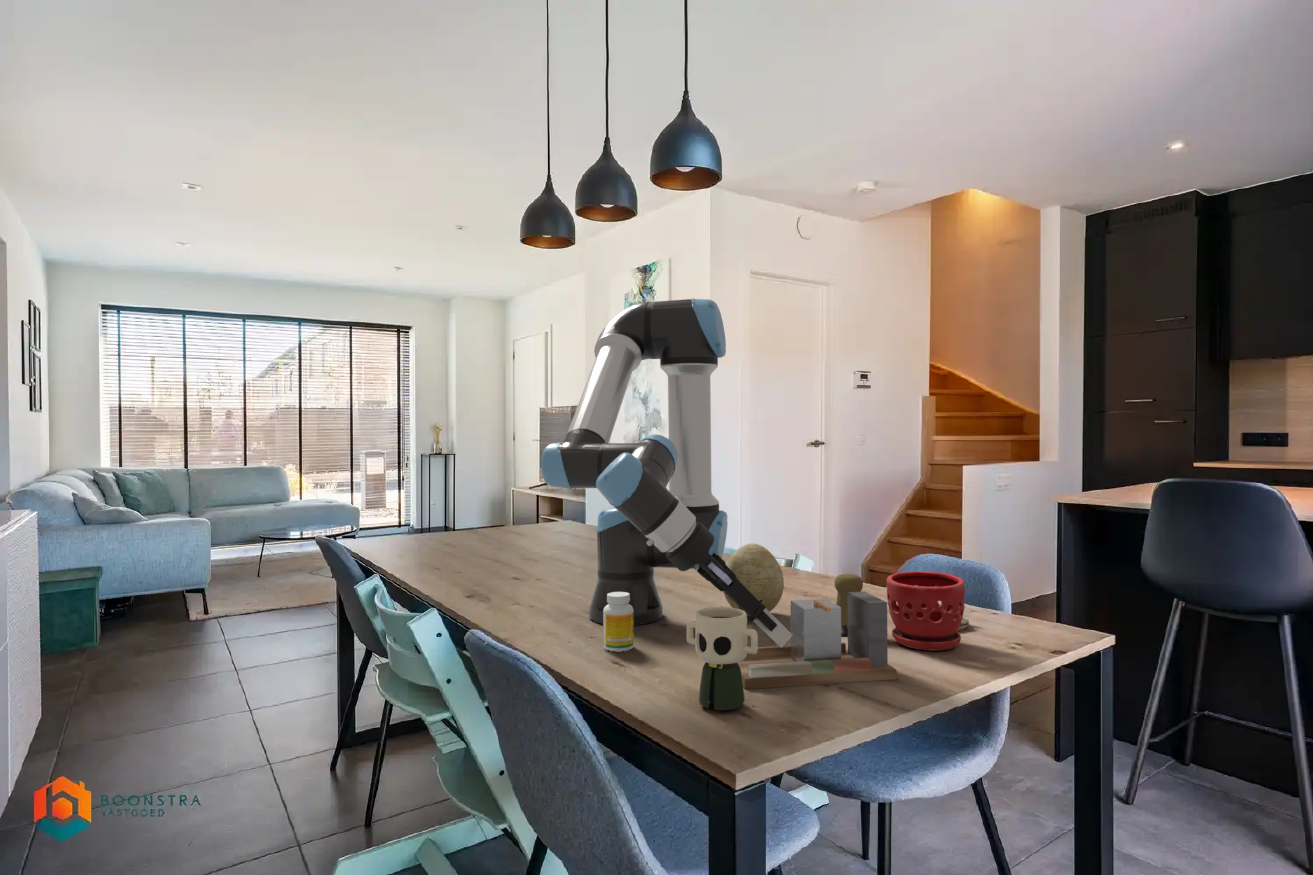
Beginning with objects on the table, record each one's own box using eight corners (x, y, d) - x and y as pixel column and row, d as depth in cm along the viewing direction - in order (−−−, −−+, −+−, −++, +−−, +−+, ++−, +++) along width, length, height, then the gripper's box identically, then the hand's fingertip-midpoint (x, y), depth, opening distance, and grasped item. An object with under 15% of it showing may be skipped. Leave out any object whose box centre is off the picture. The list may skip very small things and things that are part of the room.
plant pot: (878, 634, 139) (878, 570, 139) (949, 634, 138) (949, 570, 138) (899, 655, 126) (898, 584, 126) (977, 655, 125) (977, 584, 125)
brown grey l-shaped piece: (725, 666, 121) (725, 595, 120) (865, 657, 124) (864, 589, 124) (744, 689, 110) (744, 611, 110) (896, 679, 114) (896, 604, 113)
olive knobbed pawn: (866, 637, 137) (866, 578, 137) (833, 636, 138) (832, 577, 138) (864, 629, 143) (863, 572, 143) (832, 627, 144) (831, 571, 144)
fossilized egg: (766, 606, 162) (766, 537, 162) (795, 620, 150) (794, 546, 150) (712, 611, 158) (712, 541, 158) (737, 625, 146) (737, 549, 146)
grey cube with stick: (790, 656, 120) (790, 596, 120) (837, 653, 121) (837, 594, 121) (809, 672, 111) (809, 608, 111) (860, 669, 113) (859, 606, 113)
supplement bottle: (598, 646, 133) (598, 592, 132) (626, 642, 135) (626, 589, 135) (610, 654, 128) (610, 598, 128) (638, 649, 130) (638, 595, 130)
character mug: (674, 706, 103) (674, 613, 103) (699, 691, 109) (698, 602, 109) (746, 722, 97) (746, 623, 97) (768, 705, 103) (767, 611, 103)
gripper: (656, 548, 120) (756, 646, 122) (671, 562, 107) (783, 671, 110) (688, 514, 120) (787, 612, 123) (707, 524, 108) (817, 633, 110)
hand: (785, 639), depth 116 cm, fingers closed
